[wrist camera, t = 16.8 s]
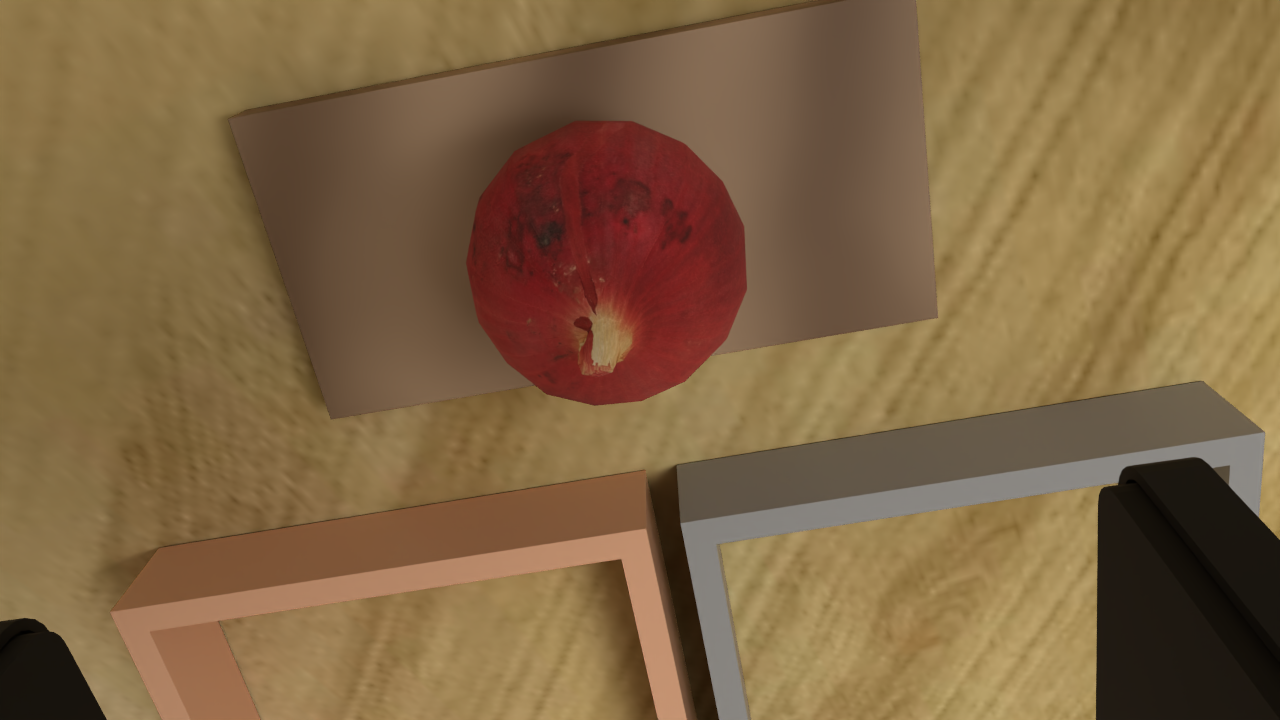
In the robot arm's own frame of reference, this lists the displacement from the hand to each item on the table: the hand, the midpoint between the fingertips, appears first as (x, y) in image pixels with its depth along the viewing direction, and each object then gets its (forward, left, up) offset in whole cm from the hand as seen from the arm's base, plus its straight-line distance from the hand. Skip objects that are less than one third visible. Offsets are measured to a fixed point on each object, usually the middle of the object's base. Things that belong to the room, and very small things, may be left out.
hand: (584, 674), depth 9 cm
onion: (0, 0, -17) cm, 17 cm away
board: (+1, 0, -18) cm, 18 cm away
